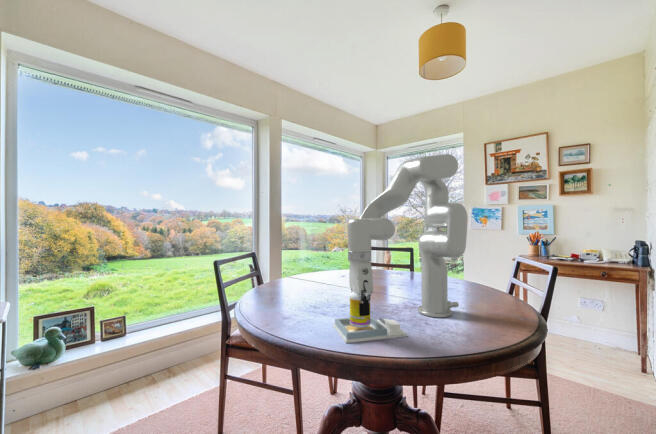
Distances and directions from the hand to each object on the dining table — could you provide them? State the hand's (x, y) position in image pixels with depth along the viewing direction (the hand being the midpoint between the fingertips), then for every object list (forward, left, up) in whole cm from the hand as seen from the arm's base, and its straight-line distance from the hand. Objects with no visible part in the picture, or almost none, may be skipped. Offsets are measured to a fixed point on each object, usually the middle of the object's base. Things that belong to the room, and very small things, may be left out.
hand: (360, 311), depth 94 cm
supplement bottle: (0, 0, -5) cm, 5 cm away
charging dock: (-3, 0, -7) cm, 7 cm away
